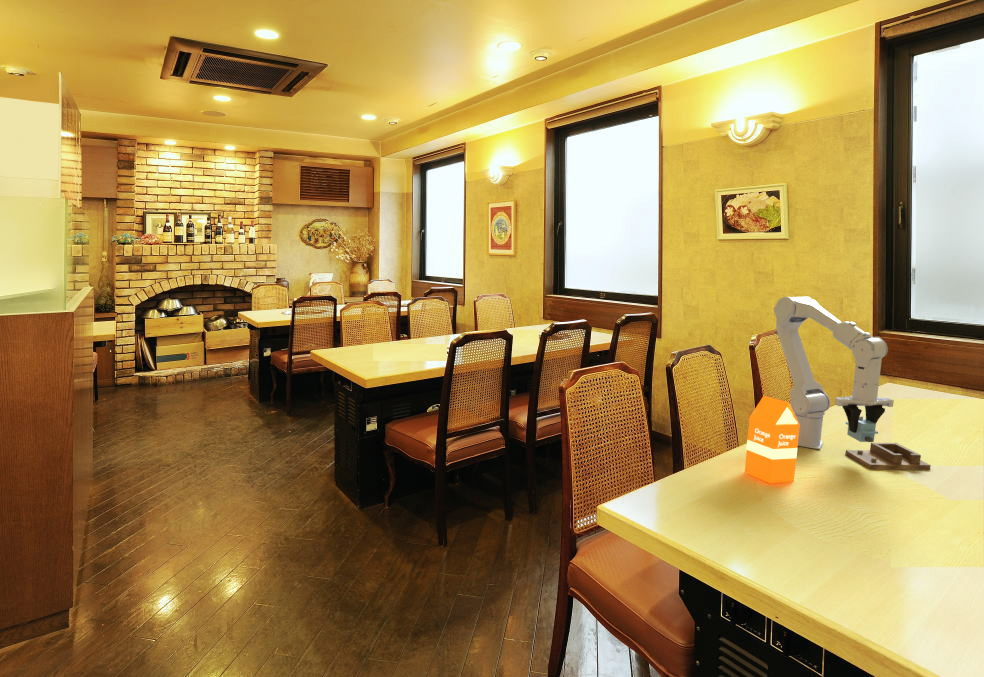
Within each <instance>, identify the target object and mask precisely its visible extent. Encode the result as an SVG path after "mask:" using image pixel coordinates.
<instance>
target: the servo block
mask: <svg viewBox="0 0 984 677" xmlns="http://www.w3.org/2000/svg"><path fill="white" fill-rule="evenodd" d="M845 425H847V434H846V435H847V436H849V437H851V438H853V439H854V440H856V441H858V442H859V443H875V442H874V441H875V436H876V435H878V434H879V432H878V431H877V430H876V426H877V423H876V424H875V423H873V422H871V421H869V420H867V419H866V417H864V416H863V415H860V417H859V420H858V427H857V431H856V433H853V432H851V431H850V430H849V423H848V421H845ZM875 434H876V435H875Z"/></svg>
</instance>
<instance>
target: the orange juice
mask: <svg viewBox="0 0 984 677" xmlns="http://www.w3.org/2000/svg"><path fill="white" fill-rule="evenodd" d="M748 418H749V424H748V432H747V440H746V454H745V465H744V473H745V474H748V475H750V476H752V477H754V478H757V479H760V480H761V481H763V482H766V483H769V484H777V483H779V484H780V483H792V482H795V474H796V464H797V456H798V455H797V454H798V447H799V446H798V436H799V426H800V424H799V423H798V421H797V419H796V416H795V414H794V411H793V409H792V407H791V402H789V401H785V400H781V399H777V398H774V397H770V396H766V395H763V396H762V397H761V399H760V401H759V402H758V403H757V405H756V407H755V409H754V410H753V412H752V413H751V415H750V416H749V417H748Z"/></svg>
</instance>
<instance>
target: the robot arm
mask: <svg viewBox="0 0 984 677" xmlns="http://www.w3.org/2000/svg"><path fill="white" fill-rule="evenodd" d="M773 311H774V312H773V313H774V315H775V318H776V319H775V321H776V322H775V323H776V324H775V325H776V326H775V328H776V332H777V335H778V338H779V342H780V345H781V347H782V351H783V354H784V358H785V359H786V360H785V361H786V364H787V367H788V370H789V373H790V375H791V379H792V382H793V386H792V388H790V391H789V394H790V406H791V408H792V410H793V412H794V414H795V416H796V419H797V421H798V423H799V424H800V426H799V436H798V446H797V447H804V448H807V449H808V448H809V449H814V450H815V449H816V450H821V448H822V446H823V444H824V441H823V440H822V432H823V431H822V430H823V421H824V416H825V415H826V413H825V412H826V411H828V410H829V409H830V408H831V398H830V397H829V394H827V393H826V392H825V389H824V387H823V385H822V384H820V383H819V382H818V381H816V380H815V378H814V375H813V372H812V369H811V366H810V363H809V360H808V358H807V354H806V350H805V348H804V344H803V343H802V339H801V336H800V333H799V329H800V327H801V326H802V325H803V323H804V322H806V321H807V320H808V319H812V321H815V322H816V323H817V324H819V325H821V326H823V327H824V328H826V329H828V330H829V331H831V332H832V337H833V338H834V339H835V340H837V341H838V342H839V343H841V345H844V346H845V347H846V348H847V349H848V350H851V353H852V355H853V357H854V363H855V365H854V366H855V368H854V376H853V385H852V393H851V396H840V397H839V396H837V397H835V398H834V405H835V406H837V407H842V409H843V411H844V413H845V415H846V418H847V422H848V423H849V430H850V431H851V432H853V433H856V431H857V427H858V420H859V417H860V416H861V413H862V412H863V410H862V409H860V408H859V406H860V407H864V409H865V419H867V420H869V421H871V422H873V423H875V424H876V425H877V422H878V421H879V420H880V418H881V417H882V415H883V414H884V413H886V408H885V407H889V408H893V407H894V403H895V402H894V401H895V400H894V399H892V398H890V397H878V395H879V393H878V392H879V387H880V386H879V385H880V377H881V369H882V361H883V360H882V359H884V357H885V356H886V355H887V354H888V352H889V349H888V344H887V343H886V341H885V340H883V338H882V337H880V336H871V333H870V332H865V331H864V330H863V329H861V328H859V327H858V326H857V323H855V322H854V321H841V320H840V319H838V318H837V317H836V316H834V315H833V314H831V313H830V312H829V311H828V310H826V309H825V308H824V307H823V306H821V305H820V304H819V303H818V301H816V300H815V299H812V298H811V296H807V295H803V296H792V297H791V296H782V297H781V298H779V299H778V300H777V302H776V303H775V306H774V308H773Z"/></svg>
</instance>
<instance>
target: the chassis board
mask: <svg viewBox="0 0 984 677" xmlns="http://www.w3.org/2000/svg"><path fill="white" fill-rule="evenodd" d="M845 455H846V456H848V457H849V458H851V459H852V460H854V461H855V462H858V463H859V464H861V465H862V466H864V467H866V468H868V469H869V470H931V468H932V466H931V464H930V463H928V462H925V461H923V460H921V458H922V455H921V454H920V453H918V452H915V451H913V450H911V449H910V448H908V447H906V446H904V445H902V444H900V443H898V442H870V447H869V450H861V449H856V450H854V449H853V450H850V449H849V450H848V449H847V450H845Z"/></svg>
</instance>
